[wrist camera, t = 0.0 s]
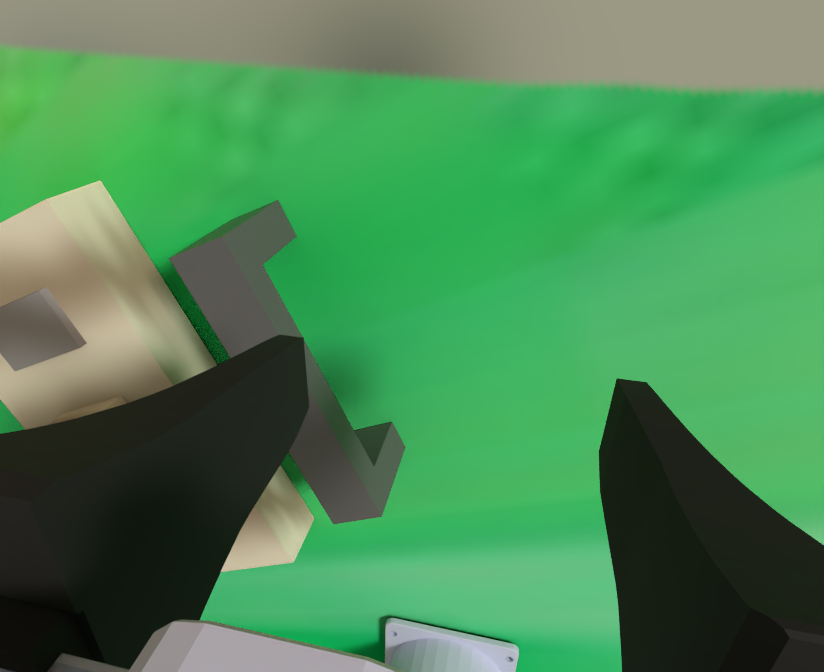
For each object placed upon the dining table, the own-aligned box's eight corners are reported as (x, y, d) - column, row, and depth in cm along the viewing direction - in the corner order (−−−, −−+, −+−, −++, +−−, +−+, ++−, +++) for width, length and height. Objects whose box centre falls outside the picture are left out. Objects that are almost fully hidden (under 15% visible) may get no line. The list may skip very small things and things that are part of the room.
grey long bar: (405, 447, 27) (381, 516, 24) (362, 455, 28) (333, 524, 24) (277, 200, 22) (222, 236, 19) (231, 219, 23) (169, 258, 20)
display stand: (314, 518, 31) (280, 589, 27) (180, 539, 35) (134, 605, 31) (100, 180, 24) (11, 211, 20) (-42, 252, 27) (-141, 291, 23)
